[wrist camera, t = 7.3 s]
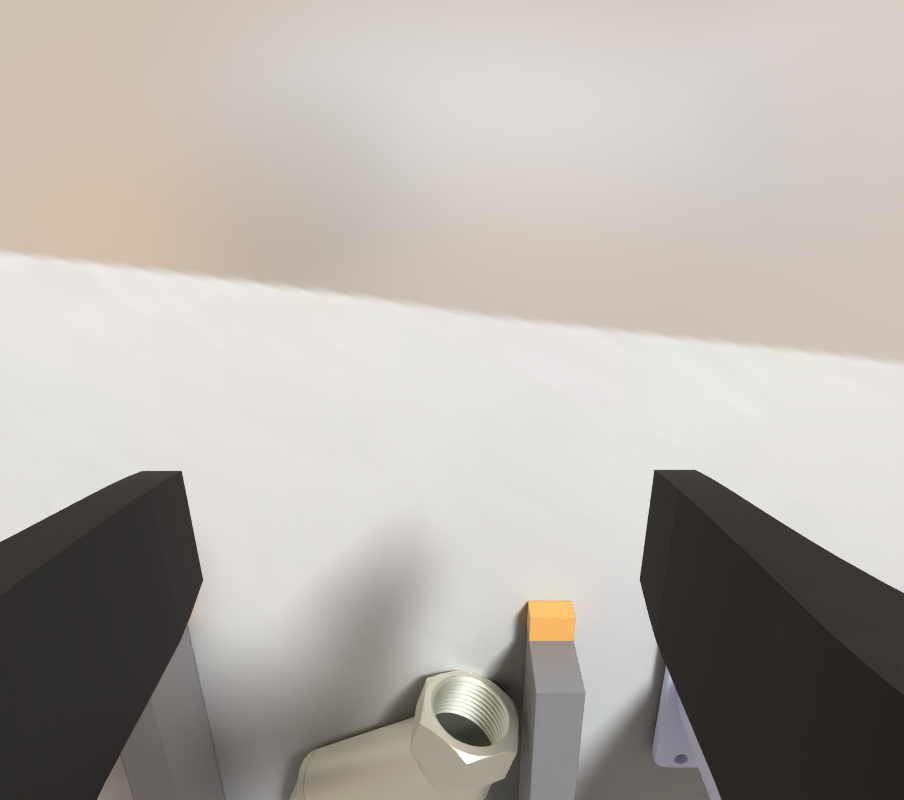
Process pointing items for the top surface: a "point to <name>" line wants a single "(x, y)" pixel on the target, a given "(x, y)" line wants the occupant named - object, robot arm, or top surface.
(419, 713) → the pipe fitting
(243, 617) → the top surface
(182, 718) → the bracket
